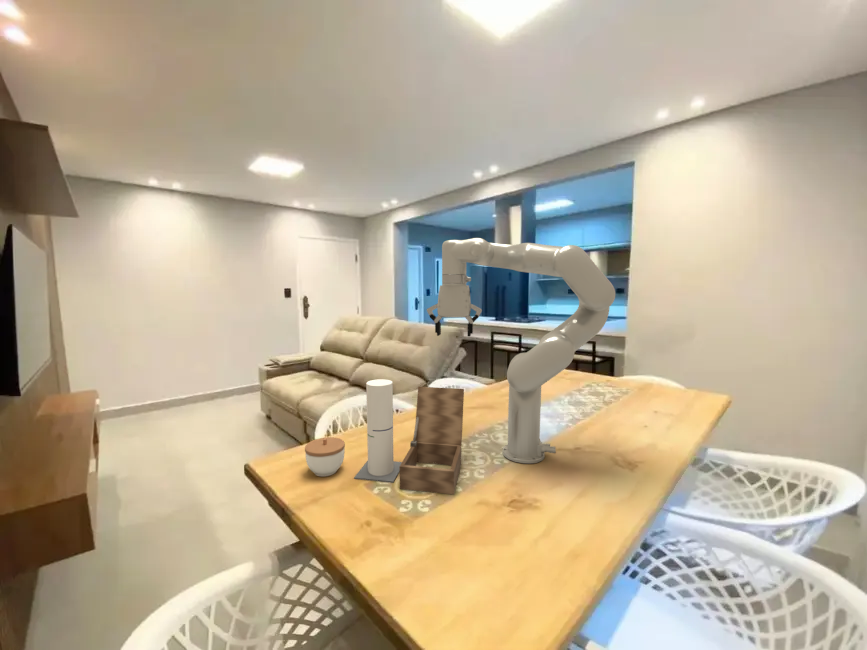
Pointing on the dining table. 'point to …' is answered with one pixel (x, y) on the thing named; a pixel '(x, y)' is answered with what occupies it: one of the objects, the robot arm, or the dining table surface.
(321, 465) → the lidded jar
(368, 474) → the mat
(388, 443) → the cylindrical container
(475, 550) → the dining table surface
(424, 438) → the case
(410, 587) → the dining table surface
